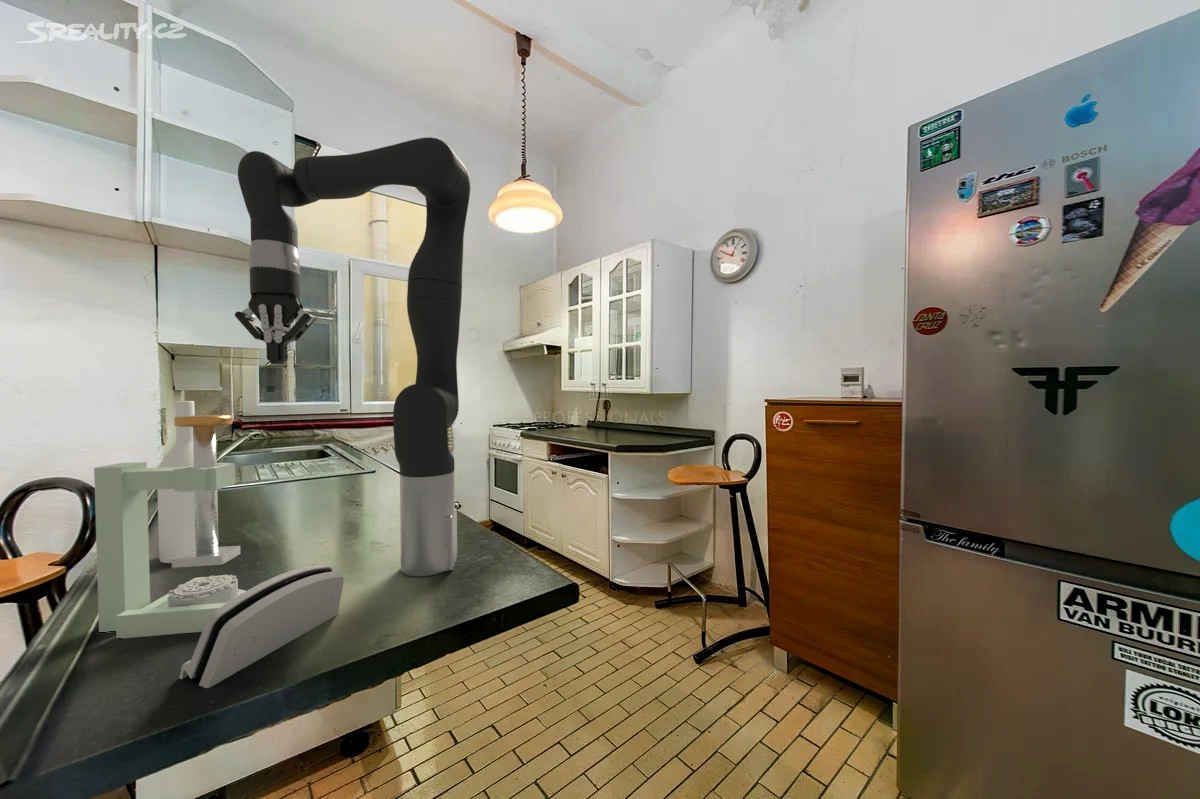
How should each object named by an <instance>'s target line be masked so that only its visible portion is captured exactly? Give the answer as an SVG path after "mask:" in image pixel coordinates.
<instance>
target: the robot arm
mask: <svg viewBox="0 0 1200 799" xmlns="http://www.w3.org/2000/svg"><path fill="white" fill-rule="evenodd" d="M237 178H238V184H239V188H240V191H241V195H242V198H243V202H244V203H245V208H246V211H247V213H248V215H249V219H250V248H249V255H248V258H249V262H248V266H249V292H250V296H251V297H250V299H249V301H248V303H247V304H248V305H247V306H248V307H246V308H245V309H244V310H242V311H236V312H235V313H234V316H235V318H236V319H237V320H238V321H239V322H240V324H241V325H242V326H243V327H244V328H245V329H246V330H247V331H248V333H249V334H250V335H251V336H252V337H253V338H254V339H255V340H259V341H263V342H264V343H265V345H266V346H265V347H266V359H267V361H269V363H270V365H271V364H272V365H285V362H287V361H288V358H289V356H288V354H289V351H288V349H289V348H288V346H289V344H290V343H293V342H296V341H299V339H300V340H301V338H302V336H303V335H304V334H305V333H306V332H307V331H308V330H309V328H310V327H311V326H312V325H313V323H315V321H316V319H317V318H316V316H315V315H314V314H310V313H308V311H306V310H305V309H304V305H303V304H302V301H301V265H300V263H301V261H300V256H299V242H298V241H299V236H298V234H299V232H298V231H299V230H298V225H297V222H296V220H295V219H294V218H293V216H292V215H290V214H289V213H288V212H287V211H286V210H285V208H284V207H286V208H287V207H288V208H301V207H304V206H306V205H307V206H308V205H309V204H313V203H315V202H318V201H321V200H345V199H352V198H353V199H354V198H357V197H361V196H363V195H365V194H367V193H368V192H370V191H372V190H374V189H376V188H378V187H379V188H380V187H381V186H391V185H392V186H393V185H394V186H395V185H396V186H405V187H410V188H411V187H412V188H415V189H416V190H417V191H418V192H419V193H420V194H421V195H422V196H424V198H425V208H426V217H425V218H426V219H425V220H426V222H425V223H426V225H425V232H424V236H423V240H422V242H421V243H420V246H419V247H418V249H417V251H416V252H415V255H414V256H413V259H412V261H411V263H410V266H409V270H408V276H407V294H406V296H407V297H406V306H407V307H406V308H407V309H406V310H407V317H408V321H409V325H410V326H409V327H410V331H411V334H412V338H413V341H414V346H415V350H416V357H417V358H416V359H417V360H416V374H415V375H416V376H415V384H410V385H408V386H406V387H404V388H403V389H402V390H401V391H400V392H399V393H398V395H397V396H396V398H395V401H394V403H393V404H394V405H393V411H392V421H393V422H392V423H393V424H392V425H393V427H392V428H393V442H394V443H393V444H394V446H393V447H394V454H395V459H396V461H397V463H398V465H399V467H398V468H399V512H400V515H399V519H400V520H399V523H400V525H399V526H400V527H399V528H400V529H399V530H400V531H399V532H400V571H401V573H402V574H403V575H406V576H410V577H429V576H434V575H438V573H439V574H442V573H444V571H445V572H448V571H449V570H452V571H454V568H453V567H455V566H456V563H455V562H457V560H458V510H457V508H456V507H455V506H456V503H455V500H456V499H455V498H456V496H455V494H456V492H455V491H456V490H455V489H456V488H455V484H456V483H455V476H456V475H455V457H454V455H453V454H452V453H451V451H450V448H449V435H448V433H449V432H448V430H449V429H448V428H450V427H451V426H452V425H453V424H454V423H455V421H456V419H457V417H458V414H459V410H460V409H459V408H460V407H459V406H460V405H459V404H460V402H459V387H458V385H459V384H458V370H457V368H458V367H457V365H458V364H457V363H458V362H457V361H458V359H457V358H458V349H459V348H458V347H459V338H460V337H459V336H460V322H461V320H460V319H461V313H462V312H461V310H462V294H463V264H464V239H465V228H466V222H467V217H468V216H467V215H468V208H469V204H470V196H471V189H472V188H471V186H472V183H471V177H470V174H469V171H468V169H467V167H466V166H465V164H464V162H463V161H461V159H460V158H459V157H458V155H457V154H456V153H455V151H454V150H453V149H452V147H451V146H449V144H447V143H446V142H445V141H443V140H441V139H439V138H437V137H432V136H431V137H430V136H429V137H420V138H419V137H418V138H414V139H409V140H407V141H404V142H403V141H402V142H399V143H395V144H391V145H388V146H382V147H380V148H375V149H371V150H365V151H361V152H356V153H350V154H339V155H338V154H337V155H318V156H305V157H302V158H299V159H298V160H296V161H295V163H294V164H293V168H290V167H288V166H287V165H285V164H284V163H282V162H281V161H279V160H278V159H276V158H274V157H272V156H271V155H270V154H267V153H265V152H262V151H259V150H256V151H255V150H253V151H249V152H247V153H245V154H244V155H243V156H242V158H241V159H240V161H239V163H238V166H237ZM283 206H284V207H283ZM256 319H258V321H259V322H260V324H261V325H259V324H258V322H256ZM296 319H297V321H296V322H295V324H294V325H293V326H292V324H293V323H294V321H295V320H296ZM456 559H457V560H456ZM441 572H442V573H441ZM449 572H450V571H449Z"/></svg>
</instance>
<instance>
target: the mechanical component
mask: <svg viewBox="0 0 1200 799" xmlns="http://www.w3.org/2000/svg"><path fill="white" fill-rule="evenodd" d="M205 577H206V578H201V579H195V580H192V579H191V580H192V581H191V580H190V581H191V582H189V581H187V582H184V583H181V584H178V586H177V587H176V588H175V589H171V590H169V591H168V593H169V595H168V606H167V607H176V606H189V605H202V604H215V603H227V602H229V601H231V600H232V599H234V598H235V597H237V596H239V595H240V594H242V593H244V592H246V591H247V590H245V589H240V588H239V580H238V578H237V575H233V574H229V575H228V574H227V573H226V574H223V575H209V576H205Z"/></svg>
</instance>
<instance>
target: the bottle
mask: <svg viewBox="0 0 1200 799" xmlns="http://www.w3.org/2000/svg"><path fill="white" fill-rule="evenodd" d="M179 416H196V415H195V401H194V400H177V401H175V417H179ZM190 465H194V459H193V427H177V426H175V442H174V444H173V446H172V447H171V449H169V451H168V452H167V454H165V456H164V458H162V460H161V462H159V465H158V466H157V468H163V467H186V466H190ZM156 492H157V520H158V522H157V524H158V526H157V527H158V559H159V562H161V563H163V564H172V559H173V558H175V557H177V556H179V555H181V554H183V553H185V552H187V551H189V550H191V549H193V548H196V542H195V500H194V492H180V491H174V489H158V490H156Z"/></svg>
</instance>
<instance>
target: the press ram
mask: <svg viewBox="0 0 1200 799" xmlns="http://www.w3.org/2000/svg"><path fill="white" fill-rule="evenodd" d="M173 421H174V423H173V424H174V427H176V426H177V427H193V459H194V468H211V467H215V466H217V463H218V462H217V461H218V459H217V426H225V425H226V426H227V425H232V424H233V415H232V414H204V415H201V414H199V415H195V416H179V417H176V416H174V420H173ZM194 500H195V542H196V548H193V549H191V550H189V551H187V552H185V553H183V554H181V555H179V556H177V557H175V558H173V559H172V563H171V568H172V569H173V568H175V569H176V568H189V567H190V568H191V567H204V566H219V565H224V564H226V563H227V562H229V561H230V560H232V559H234V558H236V557H238V556H239V555H241V545H231V546H229V545H228V546H226V545H225V546H219V512H218V511H219V508H218V507H219V506H218V504H219V503H218V502H219V501H218V490H207V491H194Z"/></svg>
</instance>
